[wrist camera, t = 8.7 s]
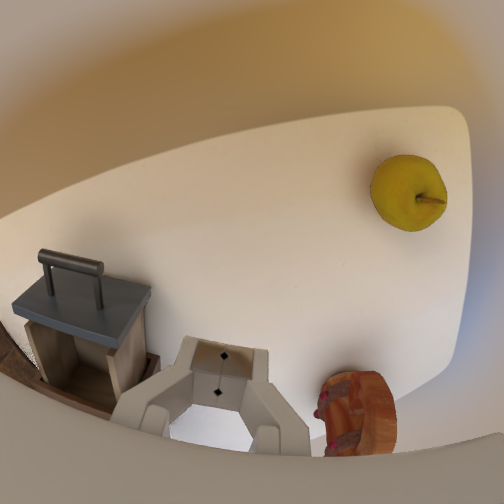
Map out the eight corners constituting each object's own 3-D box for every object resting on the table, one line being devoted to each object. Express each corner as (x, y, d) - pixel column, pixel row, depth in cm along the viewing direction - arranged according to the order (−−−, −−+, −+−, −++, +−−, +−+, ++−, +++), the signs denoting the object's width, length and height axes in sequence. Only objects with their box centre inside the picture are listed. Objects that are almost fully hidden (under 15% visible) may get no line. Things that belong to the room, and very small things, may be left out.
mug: (363, 404, 38) (383, 492, 24) (308, 407, 39) (316, 500, 25) (391, 326, 32) (437, 427, 19) (325, 328, 33) (349, 442, 19)
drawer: (51, 225, 28) (0, 258, 20) (151, 243, 29) (111, 288, 20) (76, 359, 37) (48, 402, 28) (155, 383, 37) (136, 435, 29)
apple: (430, 183, 26) (476, 205, 18) (388, 228, 28) (423, 263, 20) (391, 134, 24) (433, 141, 17) (345, 182, 26) (373, 205, 19)
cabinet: (69, 330, 35) (30, 382, 26) (160, 355, 36) (133, 422, 26) (90, 402, 42) (67, 449, 32) (164, 425, 42) (149, 478, 33)
